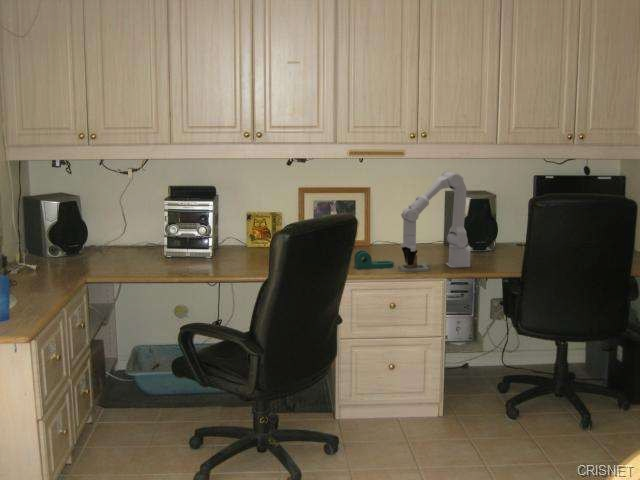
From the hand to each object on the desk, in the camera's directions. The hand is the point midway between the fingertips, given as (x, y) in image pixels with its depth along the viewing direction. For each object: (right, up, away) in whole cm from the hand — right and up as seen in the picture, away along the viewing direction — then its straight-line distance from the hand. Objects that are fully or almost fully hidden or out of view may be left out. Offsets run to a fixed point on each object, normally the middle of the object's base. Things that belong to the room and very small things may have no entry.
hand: (409, 263), depth 317 cm
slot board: (+2, -3, +1) cm, 3 cm away
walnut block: (+1, -2, +1) cm, 2 cm away
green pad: (+8, -1, +9) cm, 12 cm away
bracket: (-15, -2, +6) cm, 16 cm away
